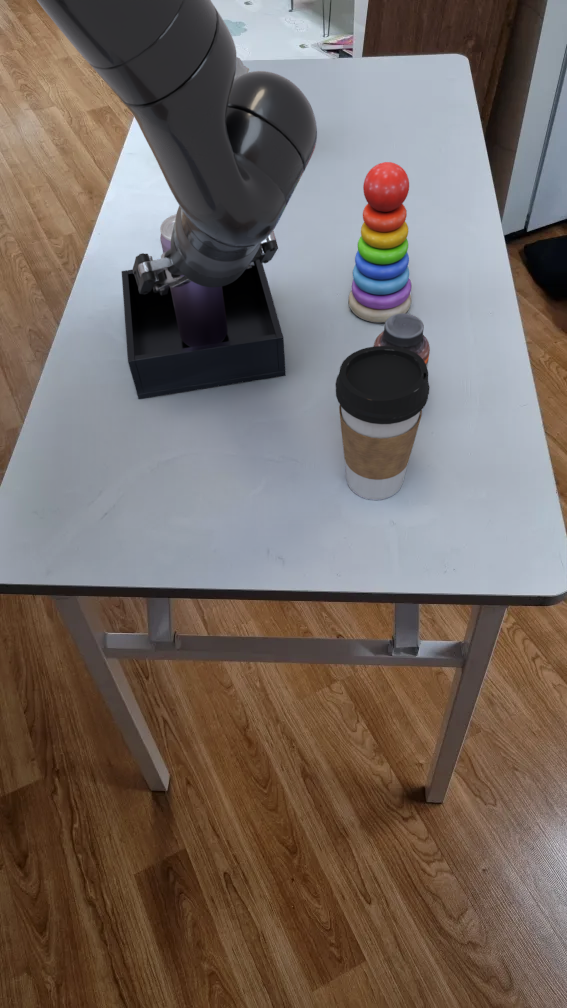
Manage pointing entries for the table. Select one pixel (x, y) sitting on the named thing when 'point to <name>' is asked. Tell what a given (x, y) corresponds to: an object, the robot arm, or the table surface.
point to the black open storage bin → (181, 368)
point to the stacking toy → (382, 247)
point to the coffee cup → (380, 416)
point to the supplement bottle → (405, 335)
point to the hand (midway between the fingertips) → (198, 276)
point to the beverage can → (196, 304)
